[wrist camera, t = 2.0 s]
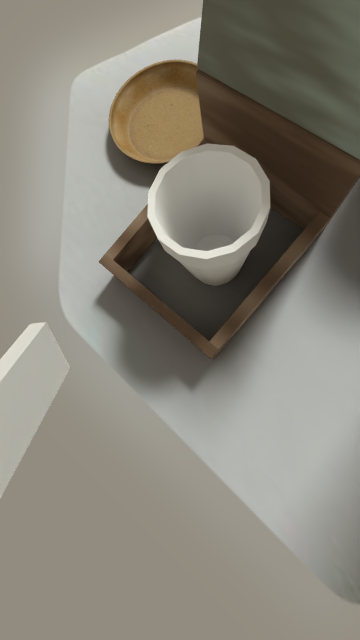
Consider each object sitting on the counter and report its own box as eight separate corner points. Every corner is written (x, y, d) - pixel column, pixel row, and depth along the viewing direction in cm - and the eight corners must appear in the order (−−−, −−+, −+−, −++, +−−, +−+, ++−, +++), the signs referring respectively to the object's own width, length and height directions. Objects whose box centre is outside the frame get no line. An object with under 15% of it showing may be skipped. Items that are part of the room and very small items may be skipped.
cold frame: (239, 126, 37) (260, -493, 10) (353, 194, 33) (860, -516, 6) (114, 274, 36) (-193, 35, 10) (213, 359, 33) (135, 335, 6)
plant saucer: (127, 191, 38) (120, 178, 36) (107, 102, 41) (98, 84, 39) (236, 153, 36) (236, 138, 34) (206, 63, 39) (205, 42, 37)
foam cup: (165, 245, 36) (129, 180, 23) (233, 210, 35) (233, 122, 22) (197, 312, 34) (177, 280, 21) (270, 276, 33) (294, 221, 20)
